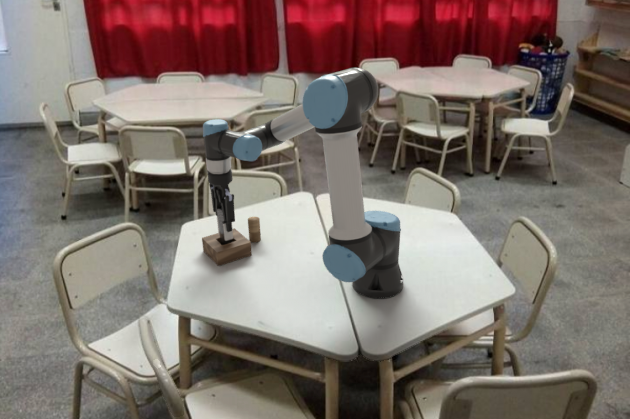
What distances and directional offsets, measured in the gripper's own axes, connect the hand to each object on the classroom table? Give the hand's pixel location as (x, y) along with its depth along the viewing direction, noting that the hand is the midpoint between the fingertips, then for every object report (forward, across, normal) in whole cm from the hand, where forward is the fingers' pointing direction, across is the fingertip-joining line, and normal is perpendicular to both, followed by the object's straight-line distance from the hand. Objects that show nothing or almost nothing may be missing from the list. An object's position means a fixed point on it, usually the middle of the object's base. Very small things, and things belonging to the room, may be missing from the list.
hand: (225, 236), depth 180 cm
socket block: (+6, 0, 0) cm, 6 cm away
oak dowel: (+6, +3, -12) cm, 14 cm away
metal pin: (+4, 0, 0) cm, 4 cm away
